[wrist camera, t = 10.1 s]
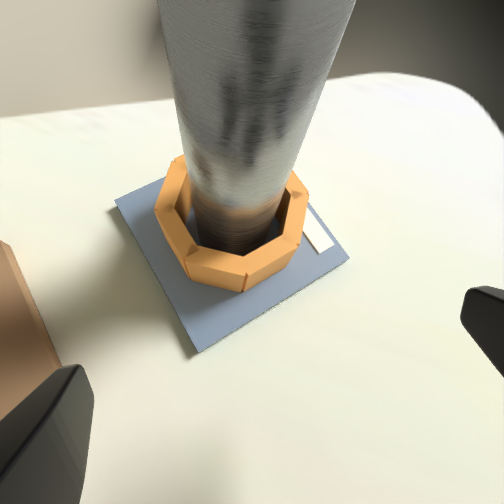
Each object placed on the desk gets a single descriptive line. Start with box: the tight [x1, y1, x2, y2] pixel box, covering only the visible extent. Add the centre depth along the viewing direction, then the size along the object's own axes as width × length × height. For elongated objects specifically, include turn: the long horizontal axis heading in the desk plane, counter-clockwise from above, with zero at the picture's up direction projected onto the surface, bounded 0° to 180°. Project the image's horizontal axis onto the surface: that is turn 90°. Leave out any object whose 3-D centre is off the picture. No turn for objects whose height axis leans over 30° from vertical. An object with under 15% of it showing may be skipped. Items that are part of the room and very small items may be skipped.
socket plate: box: [114, 155, 349, 353], centre depth 16 cm, size 9×9×4 cm
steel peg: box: [157, 0, 356, 257], centre depth 11 cm, size 4×4×13 cm
